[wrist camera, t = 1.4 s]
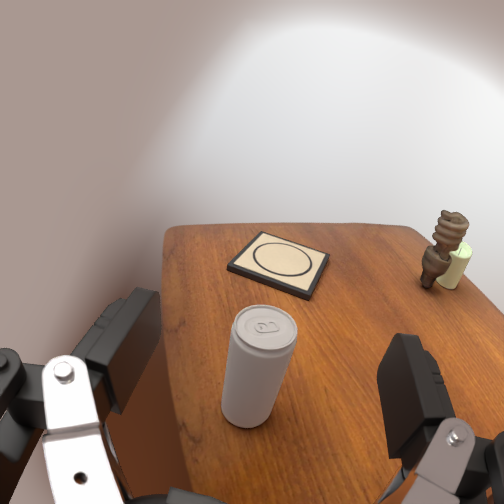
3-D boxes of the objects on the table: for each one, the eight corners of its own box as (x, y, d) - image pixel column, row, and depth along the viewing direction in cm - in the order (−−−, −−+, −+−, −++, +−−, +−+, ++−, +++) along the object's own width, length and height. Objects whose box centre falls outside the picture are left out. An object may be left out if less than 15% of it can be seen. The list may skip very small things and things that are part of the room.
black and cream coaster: (226, 269, 49) (227, 263, 48) (260, 235, 59) (261, 230, 58) (308, 300, 45) (310, 294, 44) (328, 259, 55) (330, 253, 55)
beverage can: (216, 393, 30) (226, 305, 24) (262, 387, 32) (286, 301, 25) (226, 434, 26) (241, 354, 20) (276, 425, 28) (309, 346, 21)
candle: (450, 292, 51) (468, 255, 47) (430, 278, 55) (447, 241, 50) (459, 285, 54) (476, 250, 50) (440, 271, 57) (456, 236, 53)
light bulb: (442, 295, 50) (477, 221, 43) (424, 299, 49) (460, 220, 41) (424, 276, 55) (454, 205, 47) (405, 279, 53) (436, 203, 45)
